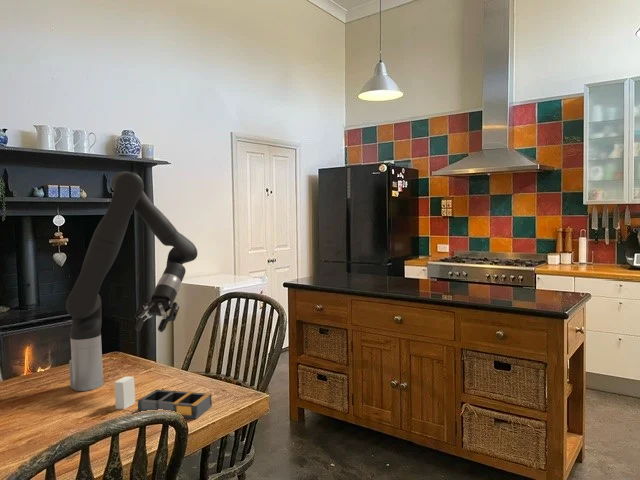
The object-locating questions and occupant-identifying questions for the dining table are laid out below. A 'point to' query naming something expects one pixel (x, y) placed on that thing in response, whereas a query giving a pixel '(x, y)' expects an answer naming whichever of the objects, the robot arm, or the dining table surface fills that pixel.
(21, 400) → the dining table surface
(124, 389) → the white rectangular block
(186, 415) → the slot rack
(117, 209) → the robot arm
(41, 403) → the dining table surface
